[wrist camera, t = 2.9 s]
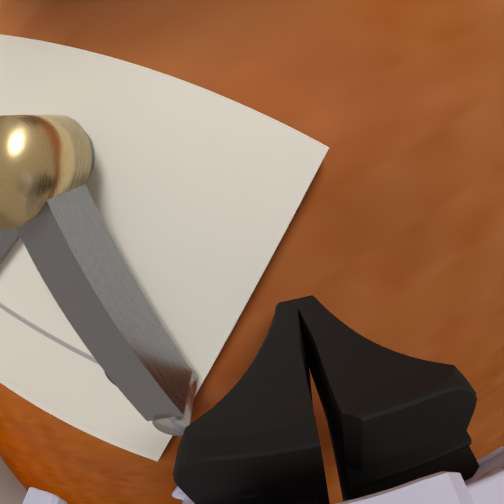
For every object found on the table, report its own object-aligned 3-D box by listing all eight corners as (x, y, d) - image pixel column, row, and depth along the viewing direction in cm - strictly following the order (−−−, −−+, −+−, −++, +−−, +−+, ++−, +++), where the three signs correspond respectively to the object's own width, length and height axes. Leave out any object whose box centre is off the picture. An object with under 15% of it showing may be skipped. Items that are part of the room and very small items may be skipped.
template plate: (160, 449, 17) (155, 468, 16) (-42, 337, 15) (-53, 348, 13) (322, 146, 11) (333, 148, 10) (-9, 35, 8) (-28, 30, 7)
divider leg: (18, 144, 9) (-43, 155, 6) (77, 98, 9) (17, 91, 6) (160, 393, 13) (144, 451, 10) (222, 378, 13) (216, 441, 10)
